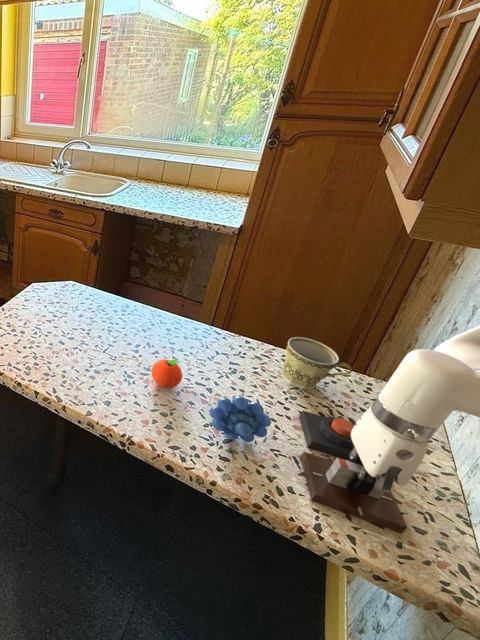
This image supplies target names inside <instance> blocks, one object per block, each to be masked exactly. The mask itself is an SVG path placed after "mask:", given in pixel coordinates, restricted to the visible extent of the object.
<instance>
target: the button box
mask: <svg viewBox="0 0 480 640" xmlns="http://www.w3.org/2000/svg"><path fill="white" fill-rule="evenodd" d="M335 418H338V417H336V416H334V415H333V416H331V415H330V416H323V415H320V414H316V413H313V412H310V411H306V410H302V411H300V414H299V416H298V419H299V422H300V426H301V429H302V432H303V436H304V440H305V444H306V447H307V449H310V450H312V451H313V450H314V451H316V452H319V453H323V454H326V455H328V456H332V457H335V458H341V459H344V460H346V461H348V460H351V459H350V458H349V455H350V453H351V452H352V450H353V441H352V439H351V437H344V436H341V435H340V434H338V433H336V432H335V431H334V430H333V429H332V428H331V424H332V422H333V420H334V419H335Z"/></svg>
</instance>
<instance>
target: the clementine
mask: <svg viewBox="0 0 480 640" xmlns="http://www.w3.org/2000/svg"><path fill="white" fill-rule="evenodd" d="M179 364H180V361H179V360H177V359H168V358H167V359H166V358H165V359H160V360H157V361H156V362H154V364H153V365H152V367H151V378H152V380H153V381H154V382H155V383H156V384H157V385H158V386H160V387H161V388H165V389H171V388H172V389H173V388H175V387H177V386H178V385H179V384H180V383H181V382H182V380H183V372H182V369H181V367H180V366H179Z"/></svg>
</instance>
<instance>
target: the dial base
mask: <svg viewBox="0 0 480 640" xmlns="http://www.w3.org/2000/svg"><path fill="white" fill-rule="evenodd" d="M299 459H300V464H301V467H302V471H303V474H304V479H305V482H306V485H307V489H308V493H309V497H310V501H311V502H314V503H317V504H319V505H322V506H325V507H328V508H330V509H333V510H335V511H338V512H340V513H344V514H346V515H349V516H352V517H355V518H357V519H360V520H363V521H366V522H368V523H371V524H374V525H376V526H379V527H381V528H384V529H388V530H390V531H393V532H395V533H399V534H403V533H404V532H405V531H406V530H408V526H407V523H406V521H405V519H404V517H403V514H402V512H401V509H400V508H399V506H398V504H397V501H396V498H395V496H394V494H393V492H392V491H391V492H390V493H387V492H384V493H383V494H382V495H381V497H380V498H379V499H378V498H375V497H372V496H368V495H365V494H362V493H359V492H355V491H352V490H349V489H347V488H344V487H340V486H337V485H334V484H331V483H329V482H328V479H327V476H326V473H327V471H328V470H329V468H330V467H331V465H332V464H333V463H334V461H335V460H331V459H328V458H324V457H322V456H319V455H316V454H313V453H310V452H306V451H303V452H302V454H301V455H300V457H299Z"/></svg>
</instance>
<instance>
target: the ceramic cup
mask: <svg viewBox="0 0 480 640" xmlns="http://www.w3.org/2000/svg"><path fill="white" fill-rule="evenodd" d="M284 357H285V360H284V364H283V367H282V368H283V369H282V373H281V378H283V380H285V381H286V382H287V383H288V385H291V386H293V387H295V388H298V389H301V390H311V389H314V388H315V387H316V386H317V385H318V383H320V381H322V379H325V378H326V377H335V376H347V375H350V374H351V373H352V372H353V368H352V366H351V365H350V364H348V363H346V362H343V361H340V357H339V355H338V354H337V352H336V351H335V350H334V349H332V348H331V347H329V346H327V345H325V344H324V343H322V342H320V341H318V340H314V339H312V338H308V337H302V336H301V337H300V336H295V337H290V338H289V339H288V341H287V345H286V349H285V356H284ZM338 367H343V368H347V369H349V371H347V372H335V373H330V371H332V370H333V369H335V368H338Z"/></svg>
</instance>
